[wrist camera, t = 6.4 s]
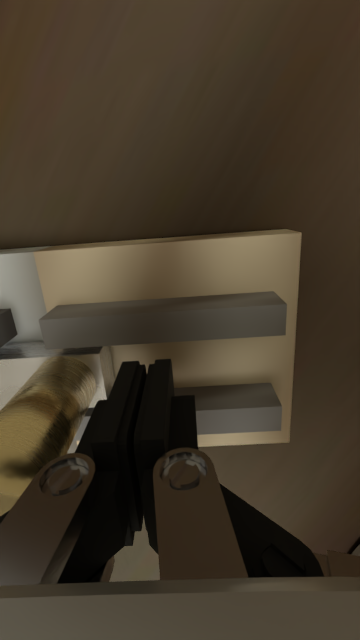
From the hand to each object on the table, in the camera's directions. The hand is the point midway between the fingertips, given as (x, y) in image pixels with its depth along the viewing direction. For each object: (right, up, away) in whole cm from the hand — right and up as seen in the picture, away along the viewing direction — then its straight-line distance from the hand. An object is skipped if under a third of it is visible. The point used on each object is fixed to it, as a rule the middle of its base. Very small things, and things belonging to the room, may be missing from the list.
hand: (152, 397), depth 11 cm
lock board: (-4, +1, +5) cm, 7 cm away
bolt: (-6, +1, +3) cm, 7 cm away
